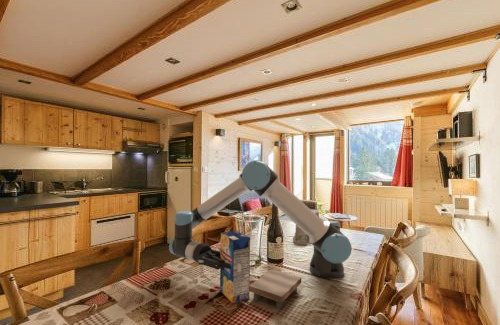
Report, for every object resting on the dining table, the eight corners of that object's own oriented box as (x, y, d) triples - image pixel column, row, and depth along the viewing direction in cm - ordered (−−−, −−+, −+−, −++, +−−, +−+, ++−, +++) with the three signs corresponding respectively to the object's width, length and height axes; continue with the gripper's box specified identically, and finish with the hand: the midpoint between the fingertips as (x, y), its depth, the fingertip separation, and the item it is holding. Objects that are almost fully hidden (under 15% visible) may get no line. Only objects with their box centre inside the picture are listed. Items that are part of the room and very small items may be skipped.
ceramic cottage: (291, 243, 150) (293, 219, 151) (293, 237, 166) (295, 215, 166) (317, 248, 146) (318, 223, 146) (317, 241, 162) (318, 218, 162)
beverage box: (232, 303, 84) (233, 240, 84) (219, 289, 93) (220, 232, 94) (249, 298, 87) (250, 237, 88) (235, 285, 97) (236, 230, 97)
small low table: (271, 281, 101) (271, 269, 101) (301, 290, 94) (301, 277, 94) (249, 299, 87) (249, 285, 87) (281, 312, 79) (282, 296, 79)
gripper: (213, 255, 108) (257, 267, 95) (181, 268, 93) (229, 286, 80) (213, 238, 108) (258, 248, 95) (182, 249, 93) (229, 263, 80)
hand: (244, 265), depth 87 cm, fingers closed on beverage box, 5 cm apart
